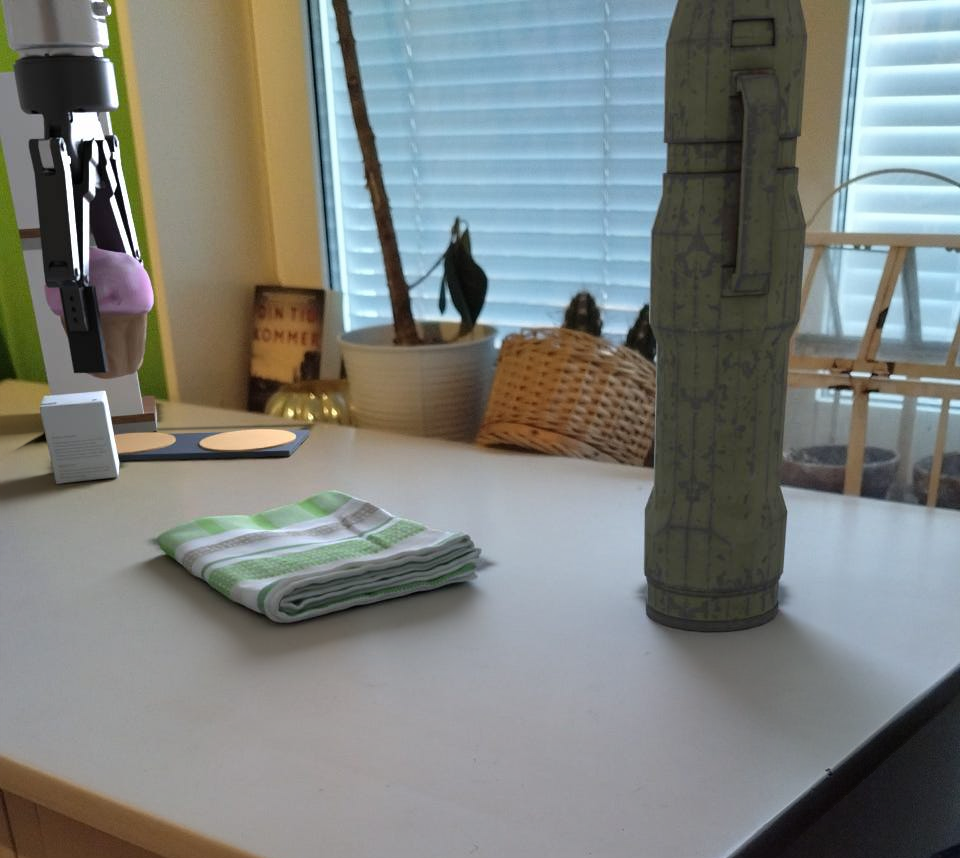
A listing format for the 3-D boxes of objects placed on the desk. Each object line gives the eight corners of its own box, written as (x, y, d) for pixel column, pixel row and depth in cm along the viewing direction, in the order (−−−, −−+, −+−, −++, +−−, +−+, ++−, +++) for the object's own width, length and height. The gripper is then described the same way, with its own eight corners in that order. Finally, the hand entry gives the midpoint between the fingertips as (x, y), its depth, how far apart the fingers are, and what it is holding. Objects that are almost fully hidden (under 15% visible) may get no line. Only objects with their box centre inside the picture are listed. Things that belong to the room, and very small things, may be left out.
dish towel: (270, 632, 87) (264, 580, 85) (151, 554, 104) (143, 510, 102) (490, 580, 94) (488, 531, 92) (345, 516, 112) (341, 474, 110)
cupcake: (46, 374, 114) (23, 248, 109) (140, 362, 118) (122, 240, 113) (82, 387, 108) (60, 254, 103) (181, 374, 112) (164, 245, 107)
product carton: (120, 465, 133) (106, 389, 129) (118, 478, 128) (104, 400, 124) (58, 471, 132) (43, 394, 128) (54, 485, 127) (38, 405, 123)
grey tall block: (157, 431, 147) (99, 68, 130) (59, 440, 145) (-13, 72, 128) (156, 413, 157) (103, 72, 140) (65, 421, 155) (-1, 77, 138)
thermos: (681, 647, 81) (703, -37, 64) (618, 591, 91) (622, -13, 74) (814, 629, 82) (870, -42, 65) (737, 576, 93) (768, -17, 76)
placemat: (61, 462, 135) (59, 454, 135) (94, 441, 144) (93, 433, 144) (289, 456, 133) (289, 448, 133) (309, 435, 142) (308, 427, 141)
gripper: (57, 47, 92) (111, 384, 103) (151, 57, 111) (189, 341, 122) (-46, 51, 92) (19, 386, 103) (65, 61, 111) (110, 343, 122)
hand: (110, 362), depth 113 cm, fingers closed on cupcake, 9 cm apart
